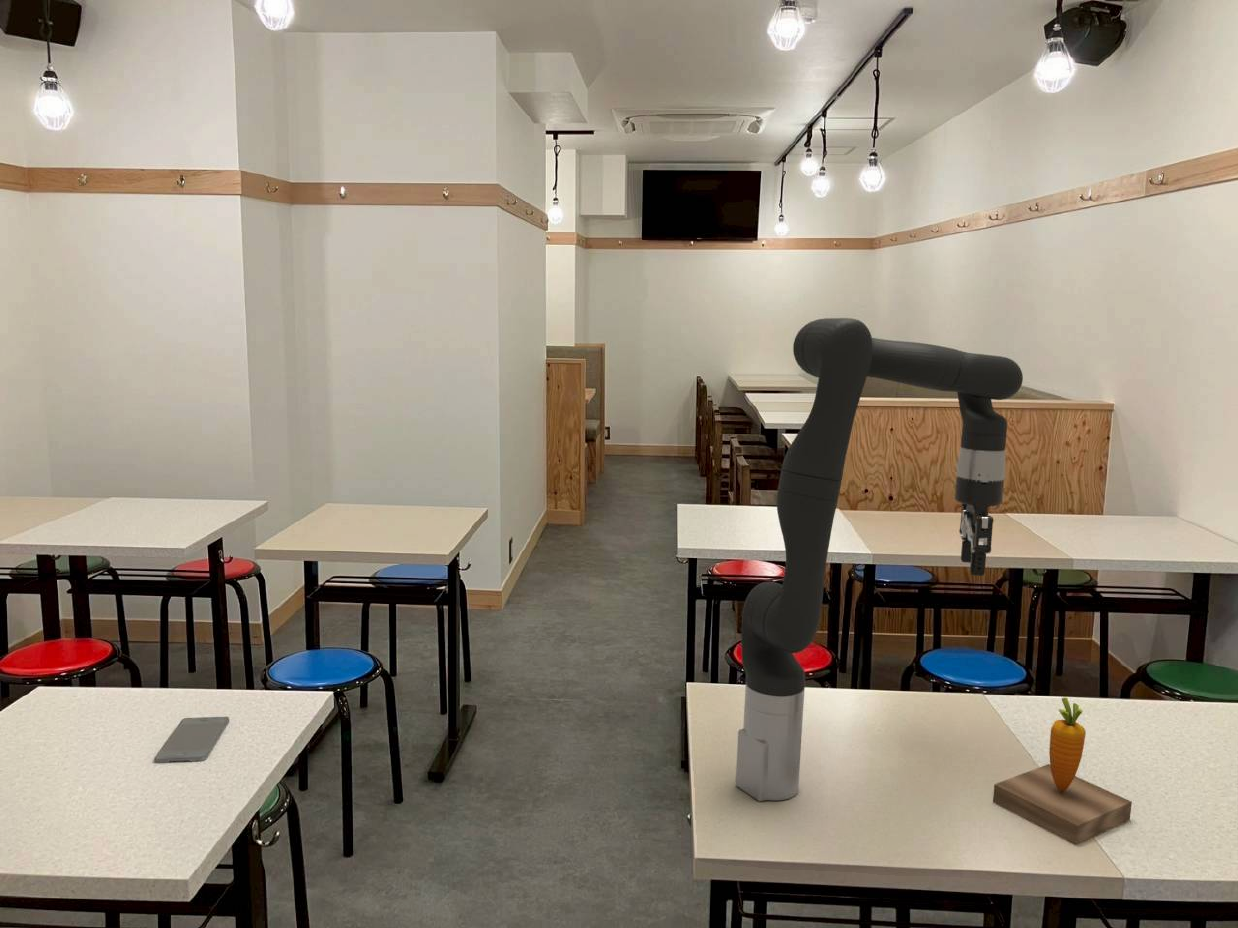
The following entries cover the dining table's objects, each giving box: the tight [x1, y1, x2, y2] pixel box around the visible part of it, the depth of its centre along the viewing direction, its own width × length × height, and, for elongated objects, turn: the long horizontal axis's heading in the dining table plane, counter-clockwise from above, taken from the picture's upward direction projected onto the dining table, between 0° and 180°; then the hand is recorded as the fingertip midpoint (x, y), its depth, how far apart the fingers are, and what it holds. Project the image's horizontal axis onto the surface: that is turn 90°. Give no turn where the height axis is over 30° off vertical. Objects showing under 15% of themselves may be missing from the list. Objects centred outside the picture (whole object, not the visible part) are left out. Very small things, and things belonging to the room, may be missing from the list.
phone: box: [153, 716, 230, 764], centre depth 163 cm, size 8×16×1 cm, turn 8°
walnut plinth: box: [992, 763, 1133, 846], centre depth 147 cm, size 14×14×3 cm
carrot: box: [1048, 696, 1086, 792], centre depth 146 cm, size 5×5×15 cm
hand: (972, 568), depth 162 cm, fingers open, 8 cm apart
